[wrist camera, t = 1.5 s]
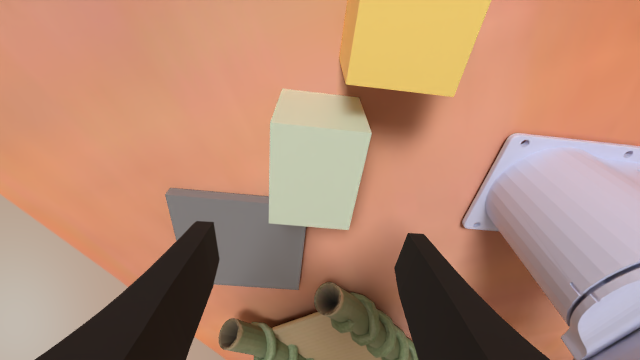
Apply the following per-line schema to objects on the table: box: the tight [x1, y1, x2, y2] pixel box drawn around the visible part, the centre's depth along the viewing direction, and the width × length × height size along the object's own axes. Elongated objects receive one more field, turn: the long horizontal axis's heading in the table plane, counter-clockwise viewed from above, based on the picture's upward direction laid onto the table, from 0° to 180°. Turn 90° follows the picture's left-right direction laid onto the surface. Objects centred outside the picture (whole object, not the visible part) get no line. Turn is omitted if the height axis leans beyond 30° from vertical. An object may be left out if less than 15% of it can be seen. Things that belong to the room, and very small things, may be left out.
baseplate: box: [165, 188, 306, 290], centre depth 23 cm, size 10×10×1 cm
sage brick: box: [269, 89, 372, 230], centre depth 16 cm, size 4×6×5 cm
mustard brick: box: [339, 0, 491, 97], centre depth 12 cm, size 4×6×5 cm
